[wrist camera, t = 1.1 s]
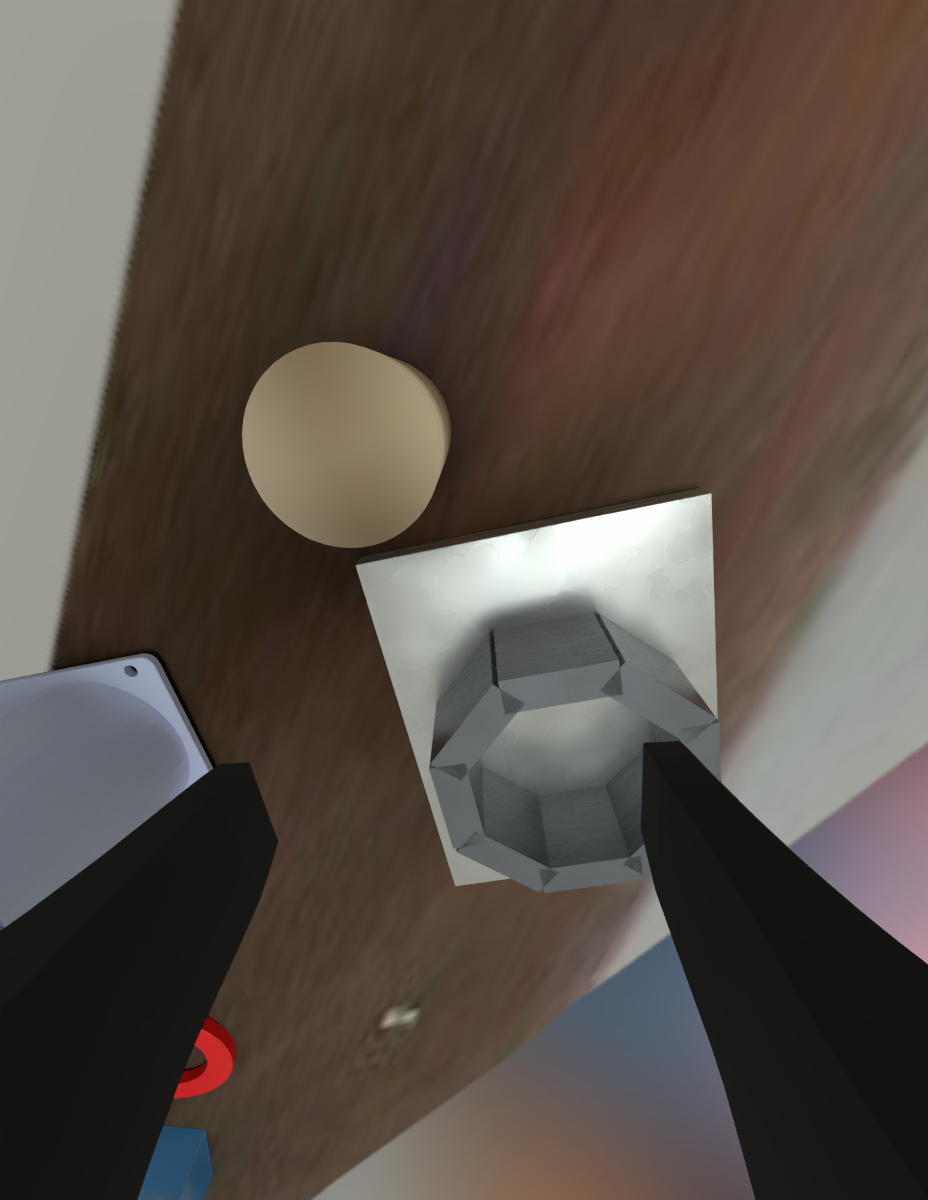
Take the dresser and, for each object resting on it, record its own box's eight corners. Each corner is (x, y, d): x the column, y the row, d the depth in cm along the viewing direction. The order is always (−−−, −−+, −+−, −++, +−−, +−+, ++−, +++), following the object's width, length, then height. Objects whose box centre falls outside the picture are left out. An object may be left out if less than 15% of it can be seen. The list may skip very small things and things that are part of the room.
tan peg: (341, 509, 18) (282, 564, 12) (300, 375, 16) (210, 369, 11) (463, 483, 17) (459, 527, 12) (434, 343, 16) (413, 318, 10)
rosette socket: (456, 867, 24) (452, 965, 20) (361, 556, 18) (329, 605, 14) (711, 831, 23) (762, 927, 19) (698, 487, 17) (769, 519, 13)
